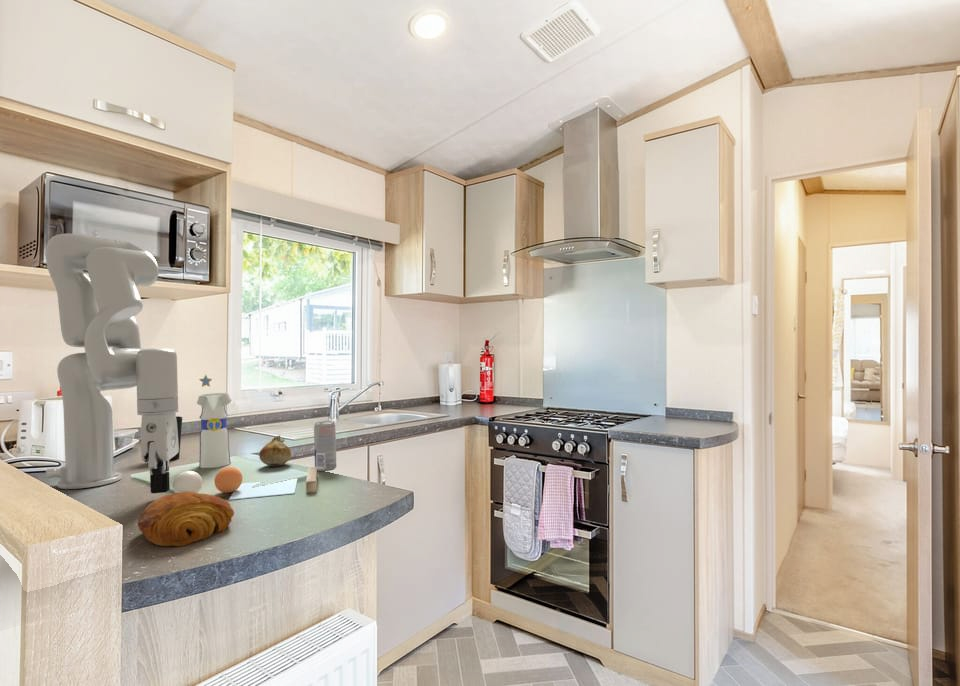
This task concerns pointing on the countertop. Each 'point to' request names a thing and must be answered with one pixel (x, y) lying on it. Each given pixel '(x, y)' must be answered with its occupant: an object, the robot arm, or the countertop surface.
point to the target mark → (264, 490)
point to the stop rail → (311, 480)
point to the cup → (179, 427)
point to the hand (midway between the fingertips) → (160, 491)
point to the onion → (275, 452)
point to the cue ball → (187, 482)
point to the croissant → (184, 518)
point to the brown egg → (228, 479)
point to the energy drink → (325, 445)
